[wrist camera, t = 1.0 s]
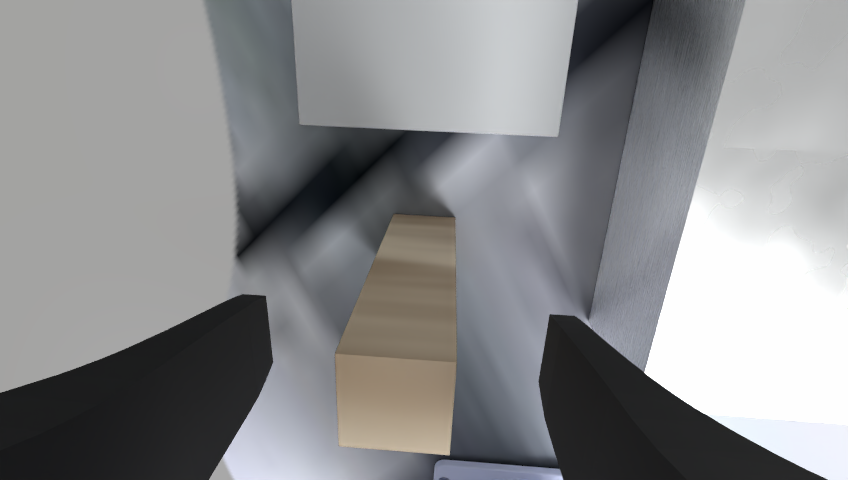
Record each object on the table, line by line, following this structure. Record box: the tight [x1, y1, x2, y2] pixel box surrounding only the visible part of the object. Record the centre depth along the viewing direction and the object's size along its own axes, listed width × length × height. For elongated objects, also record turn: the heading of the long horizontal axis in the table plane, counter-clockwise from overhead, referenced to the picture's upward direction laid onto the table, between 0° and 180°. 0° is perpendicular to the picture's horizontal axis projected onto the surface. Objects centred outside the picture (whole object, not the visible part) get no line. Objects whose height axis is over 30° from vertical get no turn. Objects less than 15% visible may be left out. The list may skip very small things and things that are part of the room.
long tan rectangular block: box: [335, 214, 457, 455], centre depth 13 cm, size 2×2×9 cm
